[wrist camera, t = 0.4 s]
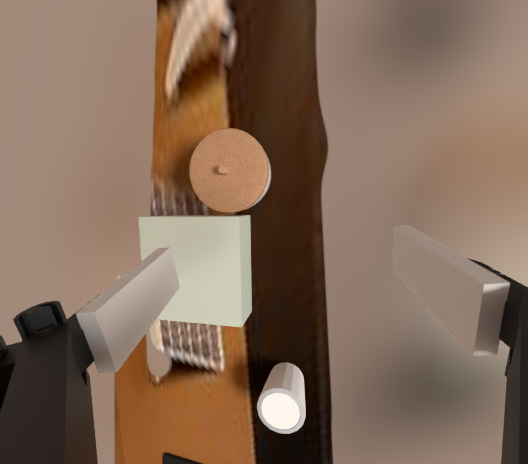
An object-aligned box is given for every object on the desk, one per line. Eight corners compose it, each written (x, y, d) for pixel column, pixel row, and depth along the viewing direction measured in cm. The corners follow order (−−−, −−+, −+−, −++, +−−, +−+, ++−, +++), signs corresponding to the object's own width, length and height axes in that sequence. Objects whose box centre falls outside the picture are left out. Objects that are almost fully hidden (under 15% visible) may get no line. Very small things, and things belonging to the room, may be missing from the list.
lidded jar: (283, 203, 39) (272, 203, 30) (219, 217, 42) (192, 220, 33) (270, 134, 39) (255, 112, 29) (206, 151, 41) (173, 136, 32)
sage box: (162, 215, 44) (138, 216, 38) (250, 214, 41) (239, 216, 35) (166, 303, 46) (144, 318, 40) (252, 310, 43) (241, 327, 37)
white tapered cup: (313, 393, 41) (312, 430, 35) (274, 401, 43) (266, 437, 36) (299, 354, 41) (295, 384, 34) (260, 363, 43) (249, 393, 36)
